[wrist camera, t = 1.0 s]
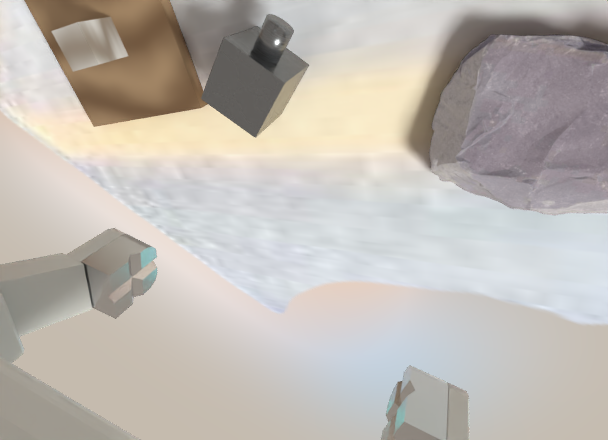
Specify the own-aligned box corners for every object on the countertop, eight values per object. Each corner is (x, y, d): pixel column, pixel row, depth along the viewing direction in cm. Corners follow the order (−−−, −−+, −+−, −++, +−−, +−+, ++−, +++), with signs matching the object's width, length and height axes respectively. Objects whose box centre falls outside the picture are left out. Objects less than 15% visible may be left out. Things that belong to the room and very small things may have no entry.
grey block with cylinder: (234, 80, 40) (200, 98, 35) (270, -4, 34) (236, 3, 29) (281, 114, 41) (255, 137, 35) (324, 37, 35) (301, 52, 29)
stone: (418, 173, 40) (415, 196, 36) (462, 21, 31) (465, 29, 27) (622, 214, 35) (644, 246, 32) (741, 52, 27) (793, 67, 23)
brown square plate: (20, -31, 41) (-35, -30, 36) (137, -87, 34) (88, -94, 29) (102, 122, 50) (66, 139, 45) (208, 103, 43) (178, 121, 38)
